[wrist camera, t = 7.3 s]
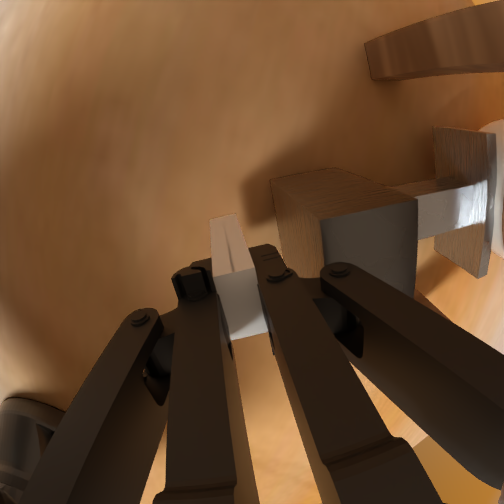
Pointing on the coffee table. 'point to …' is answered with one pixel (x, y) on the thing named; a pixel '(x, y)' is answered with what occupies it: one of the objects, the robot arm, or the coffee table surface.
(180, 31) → the coffee table surface
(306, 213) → the cube and plate dumbbell
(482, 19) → the bridge
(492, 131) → the lidded jar
